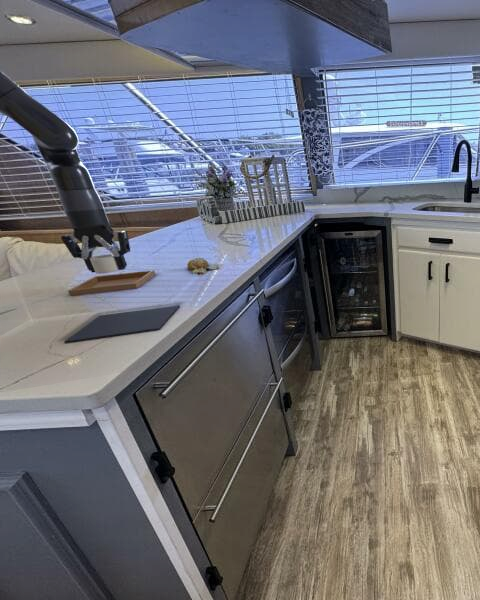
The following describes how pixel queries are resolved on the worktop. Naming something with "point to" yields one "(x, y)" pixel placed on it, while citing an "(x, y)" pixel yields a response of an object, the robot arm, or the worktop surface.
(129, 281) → the tray
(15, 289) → the worktop surface
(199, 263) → the turtle figurine
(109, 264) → the tape
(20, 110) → the robot arm
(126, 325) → the mat
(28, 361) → the worktop surface
